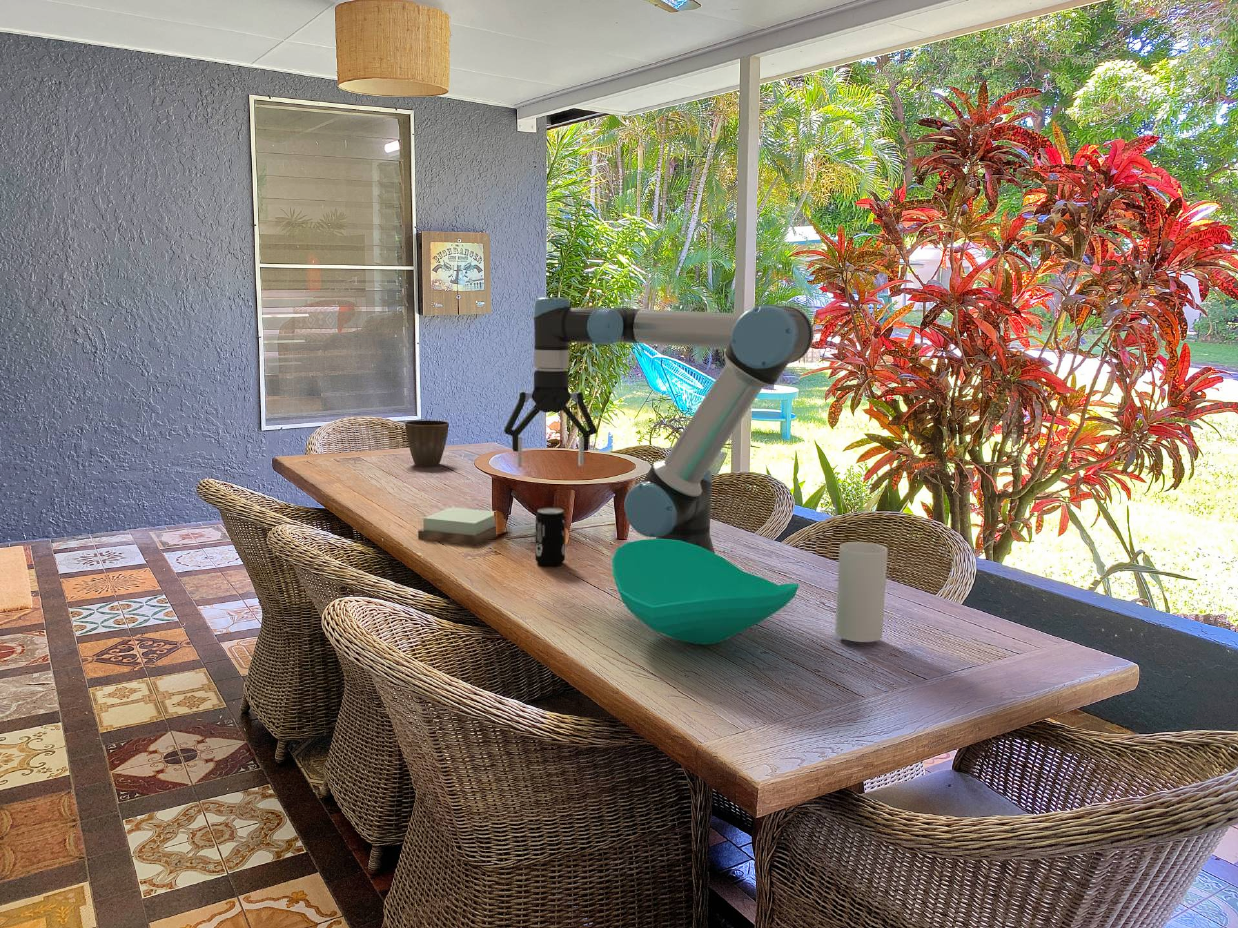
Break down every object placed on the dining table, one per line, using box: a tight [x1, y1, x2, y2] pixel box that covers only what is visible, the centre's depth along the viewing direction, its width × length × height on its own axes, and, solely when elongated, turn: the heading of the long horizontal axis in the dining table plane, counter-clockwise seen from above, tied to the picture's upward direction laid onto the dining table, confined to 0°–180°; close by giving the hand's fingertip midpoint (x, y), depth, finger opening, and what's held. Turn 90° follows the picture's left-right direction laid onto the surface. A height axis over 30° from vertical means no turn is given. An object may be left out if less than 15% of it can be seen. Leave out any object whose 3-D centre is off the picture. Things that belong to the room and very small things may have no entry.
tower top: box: [422, 507, 496, 536], centre depth 243 cm, size 14×14×3 cm
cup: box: [834, 541, 888, 643], centre depth 174 cm, size 8×8×16 cm
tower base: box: [417, 526, 508, 547], centre depth 243 cm, size 16×16×3 cm
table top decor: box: [611, 538, 799, 645], centre depth 171 cm, size 40×28×13 cm
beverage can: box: [534, 507, 566, 567], centre depth 218 cm, size 7×7×12 cm
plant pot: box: [404, 419, 450, 468], centre depth 338 cm, size 15×15×16 cm
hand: (550, 466), depth 216 cm, fingers open, 13 cm apart
